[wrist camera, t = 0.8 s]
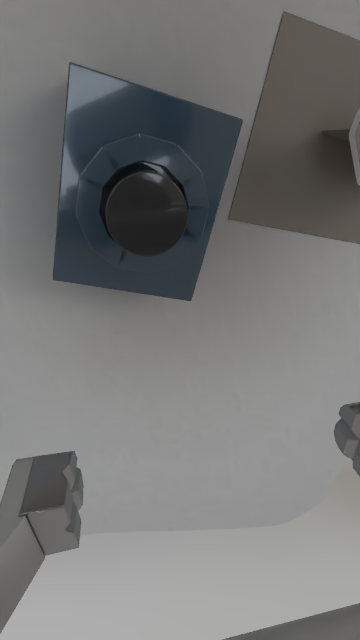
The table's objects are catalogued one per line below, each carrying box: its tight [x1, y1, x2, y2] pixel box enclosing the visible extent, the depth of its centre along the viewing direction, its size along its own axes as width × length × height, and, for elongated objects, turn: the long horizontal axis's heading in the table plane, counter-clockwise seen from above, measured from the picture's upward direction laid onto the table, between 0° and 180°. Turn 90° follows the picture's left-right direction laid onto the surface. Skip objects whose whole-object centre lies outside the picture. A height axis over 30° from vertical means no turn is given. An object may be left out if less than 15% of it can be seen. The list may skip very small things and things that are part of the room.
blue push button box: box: [53, 62, 243, 301], centre depth 19 cm, size 11×9×6 cm
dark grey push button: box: [105, 168, 188, 257], centre depth 16 cm, size 4×4×2 cm
